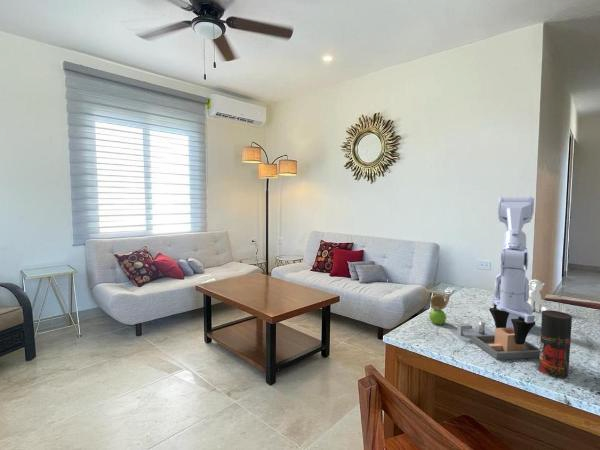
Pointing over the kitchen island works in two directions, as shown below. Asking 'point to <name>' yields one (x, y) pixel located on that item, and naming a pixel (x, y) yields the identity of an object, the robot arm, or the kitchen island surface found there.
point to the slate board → (471, 333)
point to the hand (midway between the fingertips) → (509, 338)
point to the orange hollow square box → (506, 340)
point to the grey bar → (468, 326)
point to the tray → (484, 340)
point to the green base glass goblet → (438, 309)
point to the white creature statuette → (536, 296)
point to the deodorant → (555, 343)
